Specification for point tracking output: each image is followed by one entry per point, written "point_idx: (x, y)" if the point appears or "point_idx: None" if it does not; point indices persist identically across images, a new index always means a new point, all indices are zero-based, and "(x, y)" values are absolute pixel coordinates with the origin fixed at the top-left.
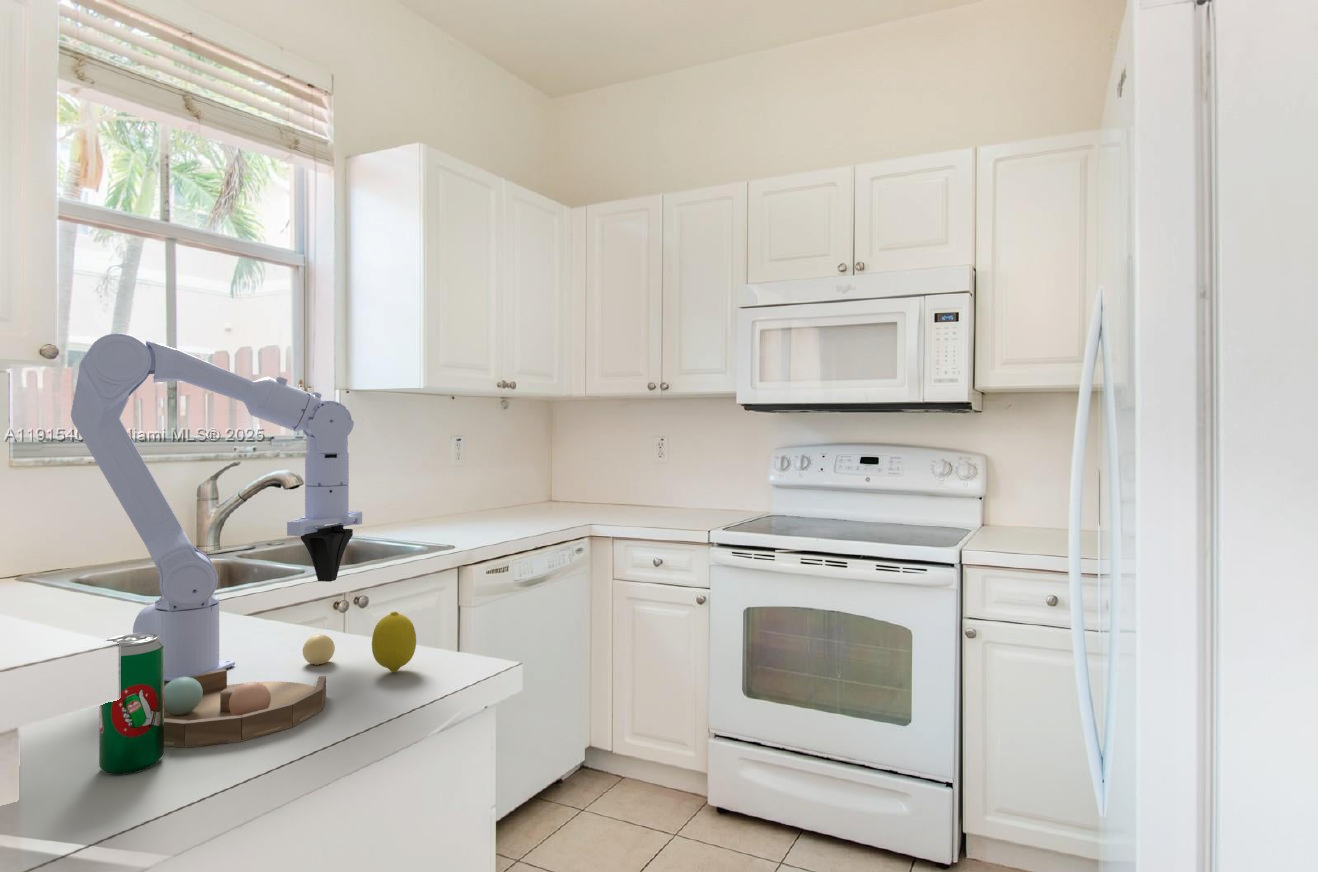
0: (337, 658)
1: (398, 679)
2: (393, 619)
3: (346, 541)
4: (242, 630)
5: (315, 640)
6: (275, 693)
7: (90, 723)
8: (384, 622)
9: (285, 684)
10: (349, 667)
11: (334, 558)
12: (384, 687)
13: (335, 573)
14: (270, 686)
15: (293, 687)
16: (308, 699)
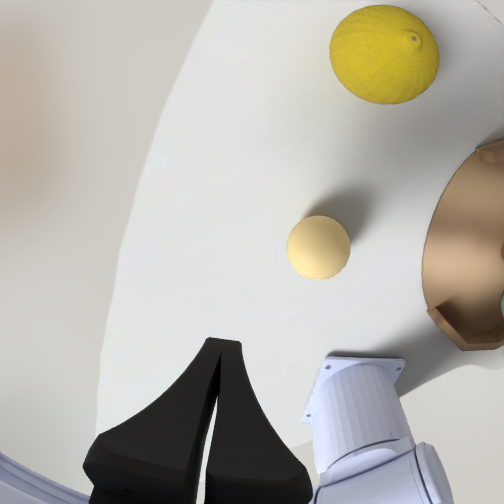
0: (271, 219)
1: None
2: (430, 40)
3: (148, 428)
4: None
5: (343, 255)
6: (474, 224)
7: (490, 357)
8: (435, 63)
9: (440, 230)
10: (333, 166)
11: (233, 394)
12: None
13: (217, 350)
14: (445, 248)
15: (455, 210)
16: None
